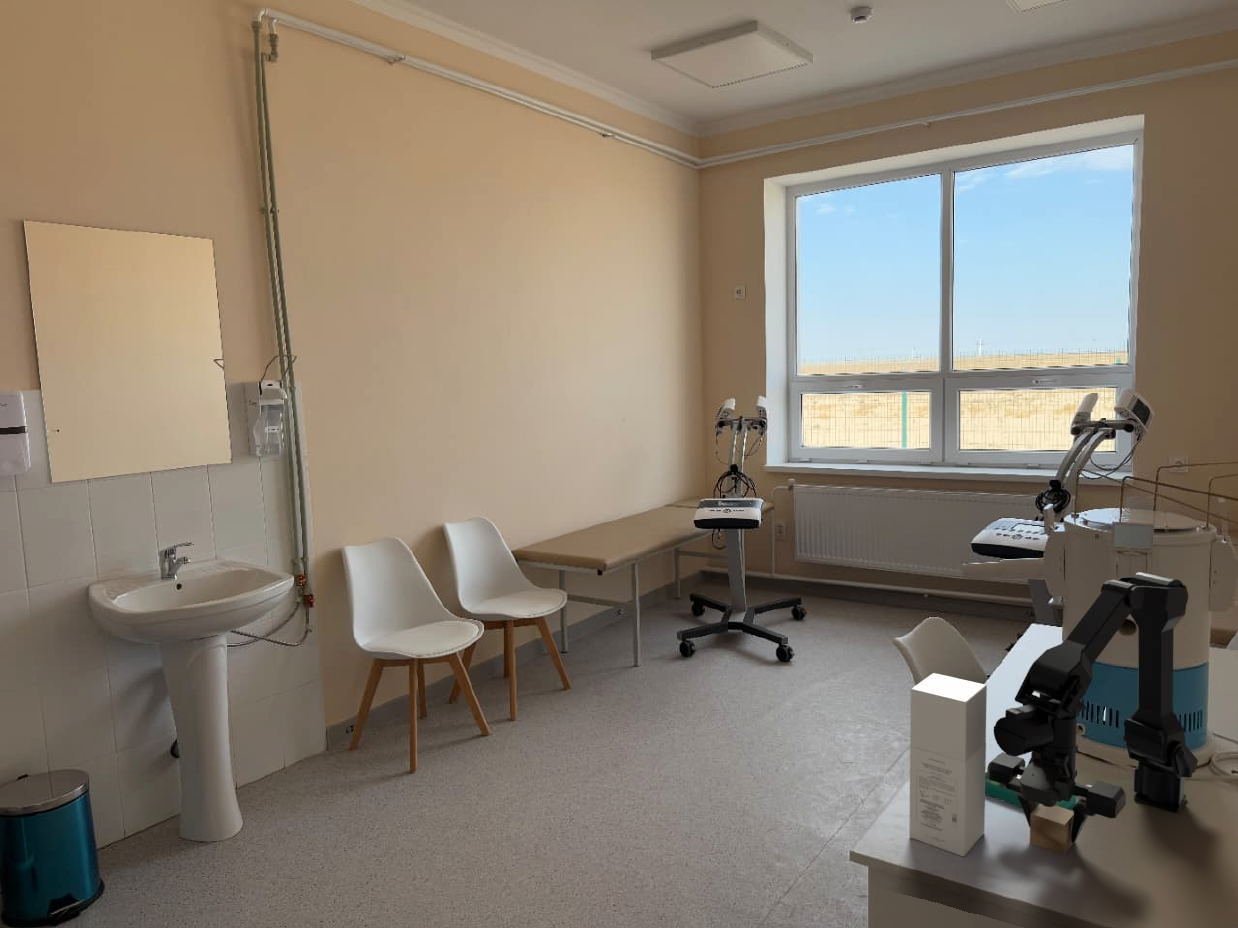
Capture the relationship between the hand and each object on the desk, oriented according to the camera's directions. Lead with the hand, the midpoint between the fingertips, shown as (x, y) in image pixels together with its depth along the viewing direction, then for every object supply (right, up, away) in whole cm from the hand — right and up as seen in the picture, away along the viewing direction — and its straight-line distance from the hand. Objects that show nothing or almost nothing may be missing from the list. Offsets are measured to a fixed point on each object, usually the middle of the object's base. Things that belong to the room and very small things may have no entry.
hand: (1052, 834), depth 135 cm
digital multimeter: (+2, 0, +13) cm, 14 cm away
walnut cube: (0, -1, 0) cm, 1 cm away
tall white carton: (-15, -2, +3) cm, 16 cm away
